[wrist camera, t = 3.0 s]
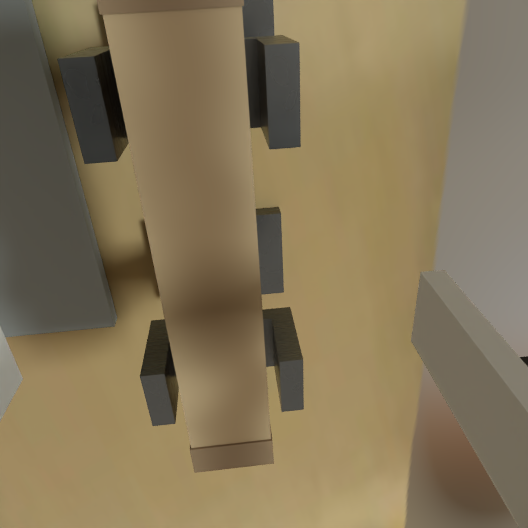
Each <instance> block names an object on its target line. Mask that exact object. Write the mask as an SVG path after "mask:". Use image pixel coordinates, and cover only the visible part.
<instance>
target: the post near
mask: <svg viewBox="0 0 528 528" xmlns="http://www.w3.org/2000/svg"><path fill="white" fill-rule="evenodd" d="M242 14H243V29H244V44H245V59H246V74H247V88H248V103H249V118H250V128H258V127H261V128H262V131H263V133H264V136H265V139H266V141H267V144H268V147H269V149H280V148H293V147H301V145H300V59H299V42H297V41H294V40H292V39H290V38H288V37H285V36H283V35H277V36H274V14H273V0H244V6H242ZM57 60H58V63H59V67H60V71H61V75H62V79H63V83H64V86H65V90H66V94H67V98H68V102H69V106H70V110H71V113H72V117H73V121H74V125H75V129H76V133H77V136H78V140H79V144H80V148H81V152H82V156H83V160H84V163H85V164H89V163H102V162H115V161H118V159H119V158H120V156H121V154H122V153H123V151H124V150H125V148H126V146H127V145H128V143H129V142H128V137H127V132H126V127H125V122H124V117H123V112H122V107H121V102H120V98H119V93H118V88H117V83H116V78H115V73H114V68H113V63H112V58H111V54H110V49H109V46H108V47H92V48H88V49H85V50H82V51H79V52H76V53H73V54H70V55H67V56H64V57H61V58H58V59H57Z"/></svg>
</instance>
